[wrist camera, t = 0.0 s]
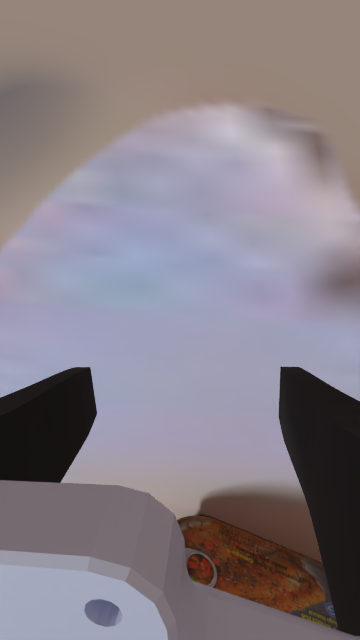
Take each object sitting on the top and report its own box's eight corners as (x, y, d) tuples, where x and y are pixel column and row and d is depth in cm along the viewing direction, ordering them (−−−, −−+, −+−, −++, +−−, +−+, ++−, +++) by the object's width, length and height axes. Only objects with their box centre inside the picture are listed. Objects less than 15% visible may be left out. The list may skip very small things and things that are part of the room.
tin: (359, 578, 23) (440, 745, 15) (341, 611, 24) (409, 792, 15) (168, 497, 24) (143, 610, 16) (155, 531, 25) (123, 659, 16)
